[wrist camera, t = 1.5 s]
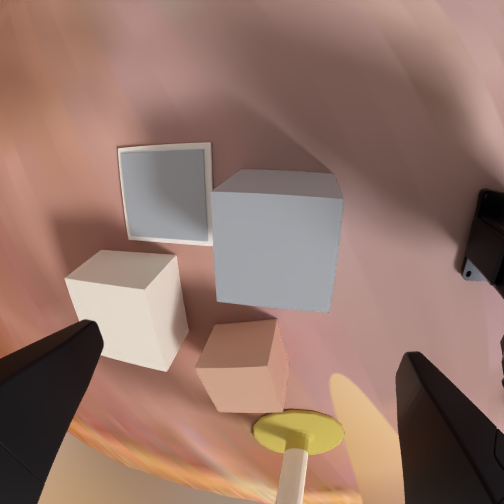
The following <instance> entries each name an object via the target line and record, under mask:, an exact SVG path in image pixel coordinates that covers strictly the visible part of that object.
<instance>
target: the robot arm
mask: <svg viewBox="0 0 504 504" xmlns="http://www.w3.org/2000/svg"><path fill="white" fill-rule="evenodd" d="M486 194H487V198H486V199H485V195H486ZM465 254H466V256H465V259H464V263H463V266H462V270H461V276H462V277H463V278H464V279H465V280H470V281H486V282H489V283H490V285H492V286H494V288H495V289H496V290H497V291H498V293H499V294H500V295H501V296H502V298H503V299H504V193H503V192H499V191H495V190H490V189H486V188H485V189H482V190H481V191H480V193H479V198H478V203H477V209H476V214H475V219H474V220H473V223H472V228H471V232H470V236H469V240H468V244H467V248H466V252H465ZM468 271H469V273H468V274H466V273H467V272H468ZM500 343H501V349H502V355H503V357H502V368H503V374H504V335H503V337H502V339H501V341H500ZM103 348H104V340H103V338H102V335H101V332H100V329H99V327H98V324H97V323H96V322H95V321H93V320H88V319H84V320H81V321H79V322H77V323H75V324H73V325H71V326H68V327H66V328H64V329H62V330H60V331H58V332H56V333H53V334H51V335H49V336H47V337H45V338H43V339H41V340H39V341H36V342H34V343H32V344H30V345H28V346H26V347H24V348H22V349H20V350H17V351H15V352H13V353H11V354H9V355H7V356H5V357H3V358H1V359H0V504H37V503H38V501H39V498H40V495H41V493H42V490H43V487H44V485H45V484H44V483H45V482H46V479H47V476H48V474H49V472H50V469H51V467H52V464H53V462H54V460H55V457H56V454H57V452H58V450H59V448H60V446H61V443H62V441H63V439H64V436H65V434H66V432H67V430H68V428H69V425H70V423H71V421H72V419H73V417H74V415H75V413H76V411H77V408H78V406H79V404H80V402H81V400H82V398H83V396H84V394H85V392H86V390H87V388H88V386H89V383H90V381H91V378H92V376H93V373H94V370H95V368H96V365H97V363H98V360H99V358H100V355H101V353H102V350H103ZM502 385H503V387H504V378H503V379H502ZM396 396H397V421H398V434H399V441H400V449H401V457H402V468H403V479H404V492H405V504H504V434H503V433H502V432H501V431H500V430H499V429H497V427H496V426H495V425H494V424H493V423H492V422H491V421H490V420H489V419H488V418H487V417H486V416H485V415H484V414H483V413H482V412H481V411H480V410H479V409H478V408H477V407H476V406H475V405H474V404H473V403H472V402H471V401H470V400H469V399H468V398H467V397H466V396H465V395H464V394H463V393H462V392H461V391H460V390H459V389H458V388H457V387H456V386H455V385H454V384H453V383H452V382H451V381H450V380H449V379H448V378H447V377H446V376H445V375H444V374H443V373H442V372H441V371H440V370H439V369H438V368H436V367H435V366H434V365H433V364H432V363H431V362H430V361H429V360H428V359H427V358H426V357H425V356H424V355H423V354H422V353H420V352H418V351H414V352H406V353H405V354H404V356H403V358H402V361H401V363H400V365H399V368H398V370H397V373H396Z"/></svg>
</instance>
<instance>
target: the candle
mask: <svg viewBox="0 0 504 504" xmlns="http://www.w3.org/2000/svg"><path fill="white" fill-rule="evenodd" d="M343 436H344V430H343V427H342V424H341V423H339V422H338V421H337V420H335V419H334V418H333V417H331V416H328V415H325V414H322V413H318V412H315V411H305V410H287V411H283V412H273V413H271V414H268V415H266V416H263V417H261V418H260V419H259V420H258V421H257V422H256V423H255V424H254V437H255V438H256V439H257V440H258V442H259V443H260V444H262V445H263V446H265V447H267V448H268V449H270V450H273V451H276V452H279V453H283V454H284V458H283V464H282V470H281V475H280V481H279V487H278V492H277V497H276V503H275V504H302V500H303V492H304V485H305V477H306V468H307V459H308V455H314V454H319V453H322V452H325V451H329V450H331V449H332V448H334V447H335V446H337V445H338V444H340V442H341V440H342V438H343Z"/></svg>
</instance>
